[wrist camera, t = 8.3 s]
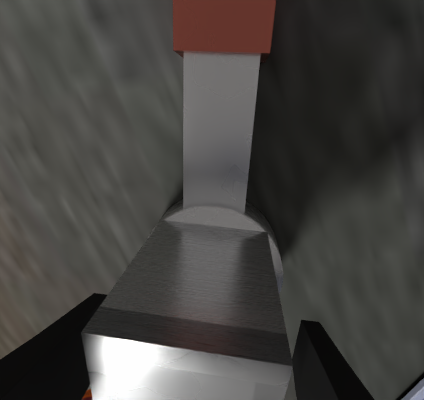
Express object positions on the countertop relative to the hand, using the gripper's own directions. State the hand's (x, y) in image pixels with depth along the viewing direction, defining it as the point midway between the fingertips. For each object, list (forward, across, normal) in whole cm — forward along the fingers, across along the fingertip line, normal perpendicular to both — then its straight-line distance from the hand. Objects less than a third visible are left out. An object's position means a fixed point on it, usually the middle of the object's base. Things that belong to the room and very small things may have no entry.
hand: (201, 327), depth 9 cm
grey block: (+3, 0, 0) cm, 3 cm away
